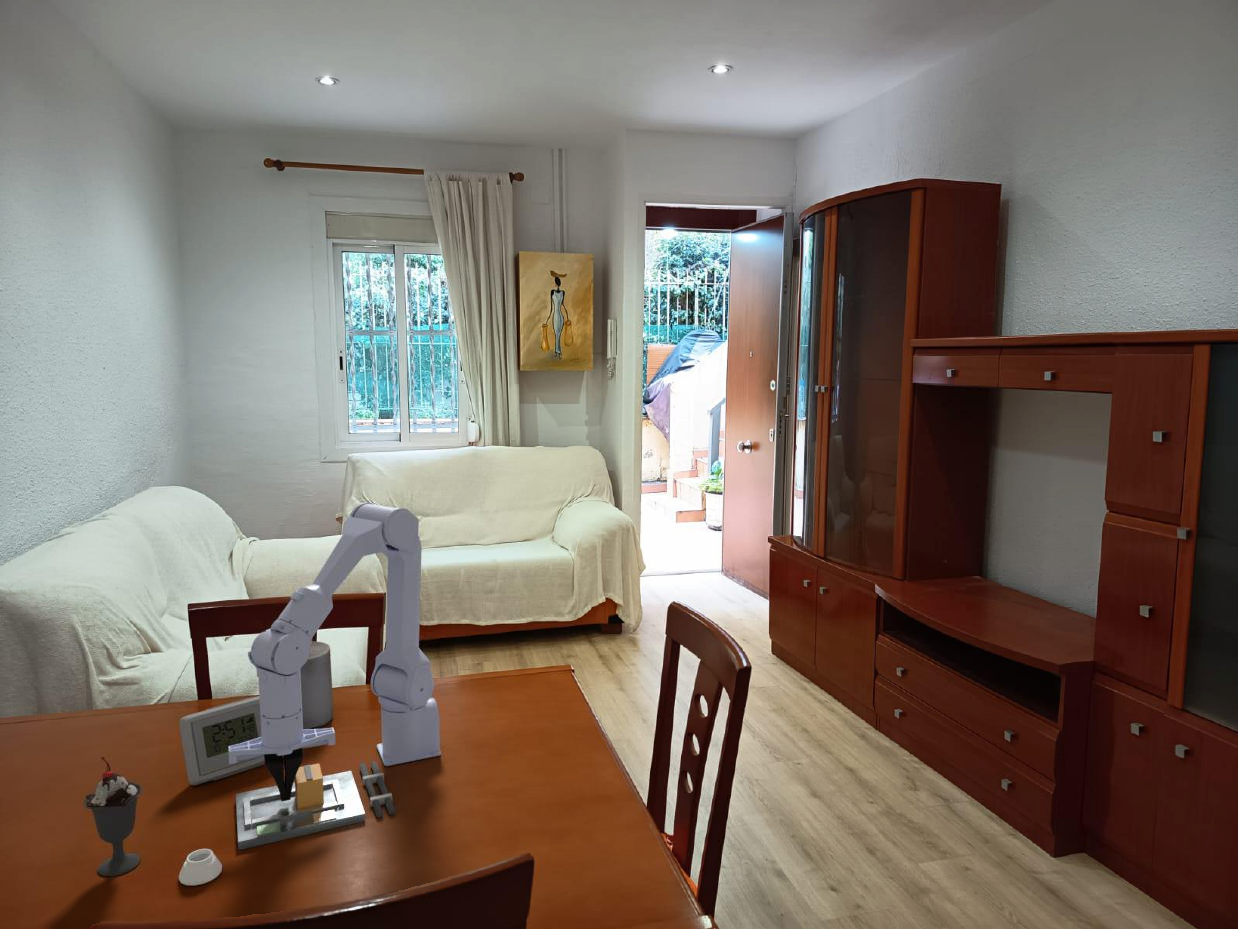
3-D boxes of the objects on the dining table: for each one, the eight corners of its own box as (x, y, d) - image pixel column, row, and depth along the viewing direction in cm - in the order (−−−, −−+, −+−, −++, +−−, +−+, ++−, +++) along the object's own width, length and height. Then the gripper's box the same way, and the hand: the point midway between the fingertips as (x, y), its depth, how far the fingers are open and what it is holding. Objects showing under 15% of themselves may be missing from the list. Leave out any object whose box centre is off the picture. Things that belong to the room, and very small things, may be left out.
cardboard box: (320, 790, 127) (319, 762, 127) (324, 806, 123) (322, 777, 122) (295, 795, 126) (294, 767, 125) (298, 811, 121) (296, 782, 121)
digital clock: (185, 791, 129) (181, 727, 128) (180, 767, 137) (176, 706, 136) (294, 765, 138) (291, 704, 137) (283, 743, 146) (280, 686, 144)
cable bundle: (377, 765, 138) (377, 758, 138) (396, 813, 123) (396, 807, 123) (357, 769, 137) (357, 762, 136) (375, 818, 122) (374, 812, 122)
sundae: (105, 852, 113) (98, 748, 111) (156, 850, 114) (149, 747, 112) (78, 882, 107) (69, 773, 105) (132, 880, 107) (125, 771, 105)
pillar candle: (295, 707, 161) (291, 633, 158) (343, 710, 159) (339, 635, 157) (268, 729, 151) (263, 651, 149) (318, 733, 150) (314, 654, 148)
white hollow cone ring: (209, 889, 106) (229, 865, 111) (208, 867, 105) (228, 845, 110) (171, 887, 106) (192, 864, 111) (170, 866, 106) (191, 843, 111)
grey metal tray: (351, 777, 134) (351, 767, 134) (365, 821, 121) (364, 809, 121) (236, 801, 126) (235, 790, 126) (238, 850, 114) (237, 838, 114)
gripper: (227, 731, 114) (232, 822, 116) (336, 712, 121) (339, 799, 122) (226, 711, 121) (231, 798, 122) (330, 694, 127) (333, 777, 129)
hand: (285, 797), depth 123 cm, fingers closed
